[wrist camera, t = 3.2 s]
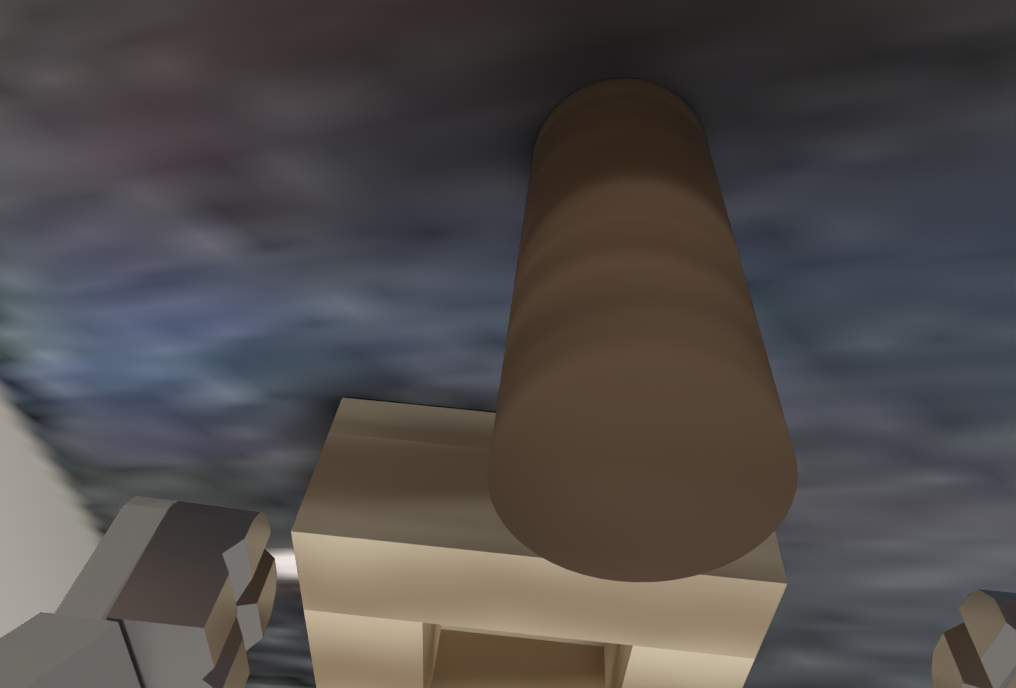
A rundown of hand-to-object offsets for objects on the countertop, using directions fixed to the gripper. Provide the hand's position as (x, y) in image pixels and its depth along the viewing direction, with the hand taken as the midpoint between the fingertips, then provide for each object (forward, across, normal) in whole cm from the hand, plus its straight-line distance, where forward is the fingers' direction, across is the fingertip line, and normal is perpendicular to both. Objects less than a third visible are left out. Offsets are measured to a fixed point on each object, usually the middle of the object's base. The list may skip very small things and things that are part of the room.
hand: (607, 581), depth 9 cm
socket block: (+12, 0, +14) cm, 18 cm away
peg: (+11, 0, 0) cm, 11 cm away
